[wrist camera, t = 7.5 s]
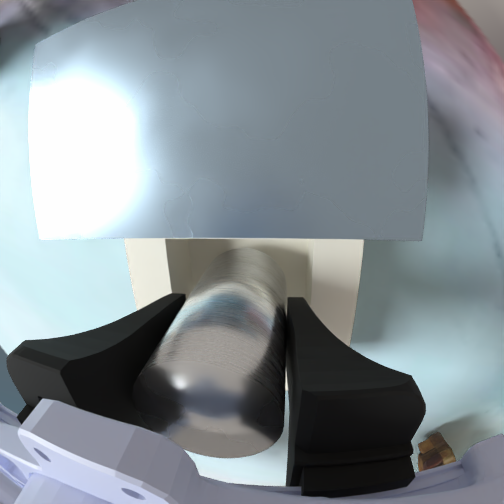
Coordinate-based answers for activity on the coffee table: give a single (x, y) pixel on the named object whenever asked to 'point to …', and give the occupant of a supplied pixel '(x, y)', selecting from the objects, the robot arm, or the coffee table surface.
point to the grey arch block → (232, 122)
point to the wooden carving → (434, 453)
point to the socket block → (279, 249)
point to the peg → (222, 361)
